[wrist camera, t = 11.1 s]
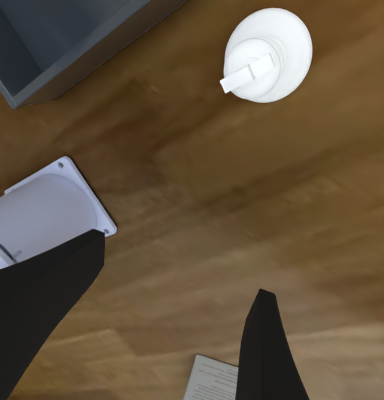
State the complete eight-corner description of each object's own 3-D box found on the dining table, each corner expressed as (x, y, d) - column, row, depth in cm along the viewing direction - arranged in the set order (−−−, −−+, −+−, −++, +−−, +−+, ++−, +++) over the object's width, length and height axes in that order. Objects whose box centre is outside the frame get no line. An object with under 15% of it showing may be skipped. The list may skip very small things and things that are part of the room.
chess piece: (211, 39, 17) (138, 38, 9) (293, -13, 15) (297, -77, 7) (245, 115, 19) (208, 175, 10) (324, 78, 17) (358, 117, 8)
